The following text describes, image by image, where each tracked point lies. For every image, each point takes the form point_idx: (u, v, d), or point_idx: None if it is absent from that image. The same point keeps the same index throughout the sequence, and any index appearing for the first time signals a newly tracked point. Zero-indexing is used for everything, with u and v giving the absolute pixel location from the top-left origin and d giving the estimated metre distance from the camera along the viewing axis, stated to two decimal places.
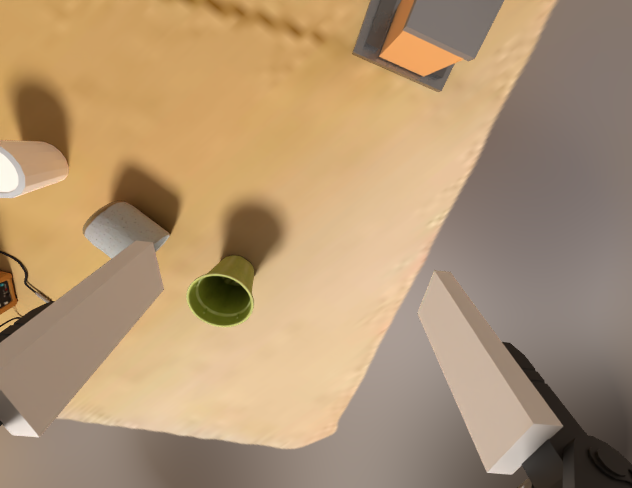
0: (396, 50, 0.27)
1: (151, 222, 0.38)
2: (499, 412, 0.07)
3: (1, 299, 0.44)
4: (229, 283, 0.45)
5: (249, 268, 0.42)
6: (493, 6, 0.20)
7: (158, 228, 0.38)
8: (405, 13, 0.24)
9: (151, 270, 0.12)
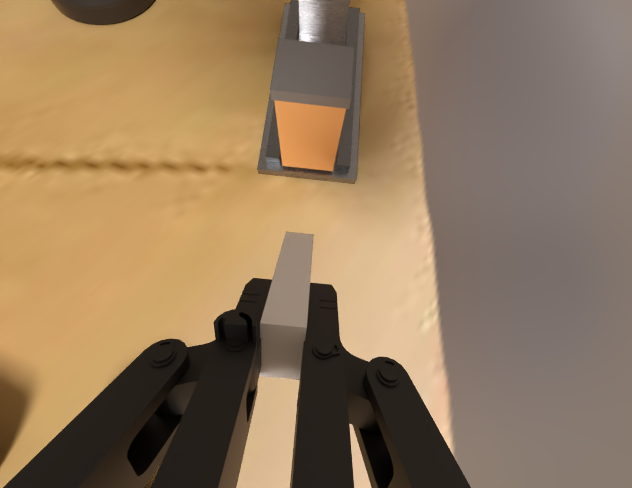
0: (288, 143, 0.27)
1: None
2: None
3: None
4: None
5: None
6: (346, 65, 0.21)
7: None
8: None
9: None
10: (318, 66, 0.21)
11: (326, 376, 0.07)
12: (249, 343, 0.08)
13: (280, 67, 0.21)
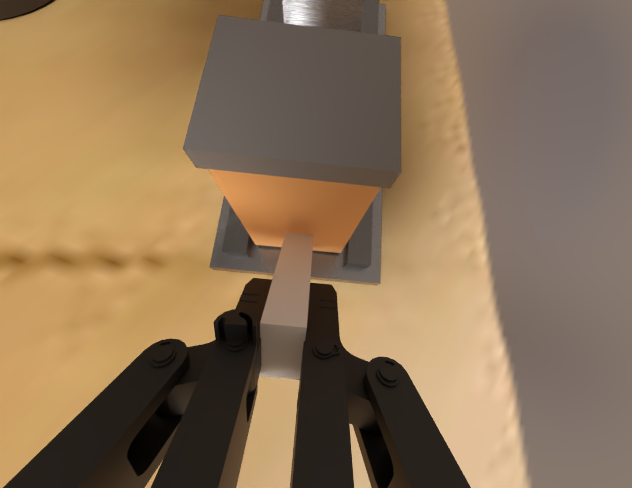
0: (259, 224, 0.14)
1: None
2: None
3: None
4: None
5: None
6: (384, 80, 0.09)
7: None
8: None
9: None
10: (314, 83, 0.08)
11: (326, 376, 0.07)
12: (249, 343, 0.08)
13: (217, 86, 0.08)
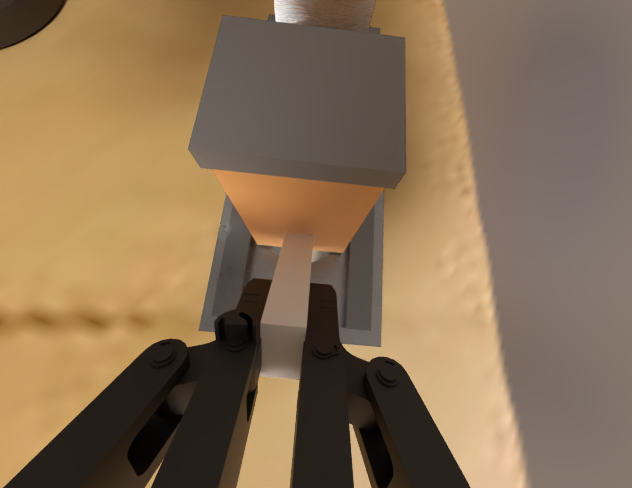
0: (262, 224, 0.14)
1: None
2: None
3: None
4: None
5: None
6: (388, 80, 0.09)
7: None
8: None
9: None
10: (319, 84, 0.08)
11: (326, 376, 0.07)
12: (249, 343, 0.08)
13: (222, 87, 0.08)
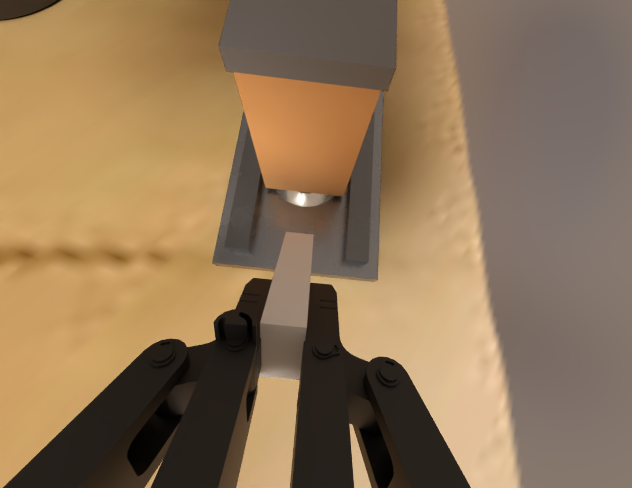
0: (271, 155, 0.16)
1: None
2: None
3: None
4: None
5: None
6: (383, 0, 0.10)
7: None
8: None
9: None
10: (325, 1, 0.10)
11: (326, 376, 0.07)
12: (249, 343, 0.08)
13: (245, 1, 0.10)
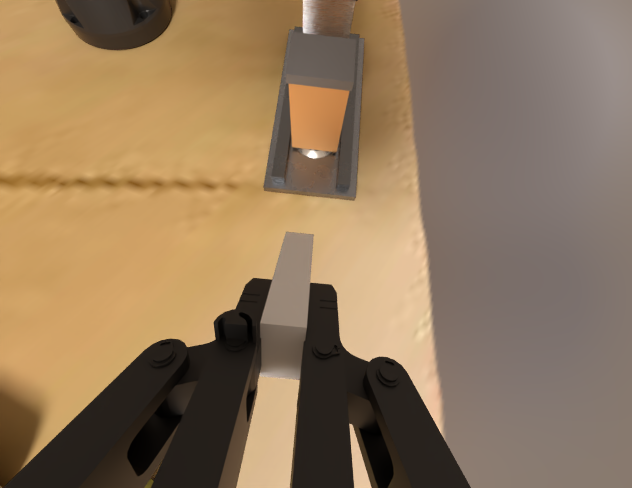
0: (298, 124, 0.31)
1: None
2: None
3: None
4: None
5: None
6: (349, 54, 0.25)
7: None
8: None
9: None
10: (326, 55, 0.25)
11: (326, 376, 0.07)
12: (249, 343, 0.08)
13: (294, 55, 0.25)
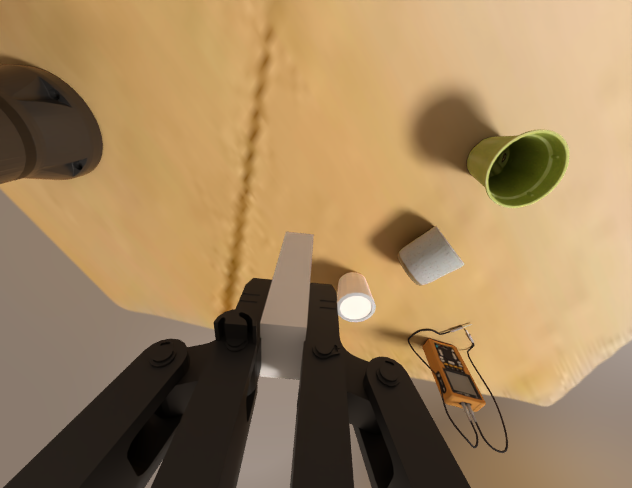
0: None
1: (421, 236, 0.43)
2: None
3: (448, 351, 0.56)
4: (501, 169, 0.39)
5: (491, 139, 0.36)
6: None
7: (429, 232, 0.42)
8: None
9: None
10: None
11: (326, 376, 0.07)
12: (249, 343, 0.08)
13: None
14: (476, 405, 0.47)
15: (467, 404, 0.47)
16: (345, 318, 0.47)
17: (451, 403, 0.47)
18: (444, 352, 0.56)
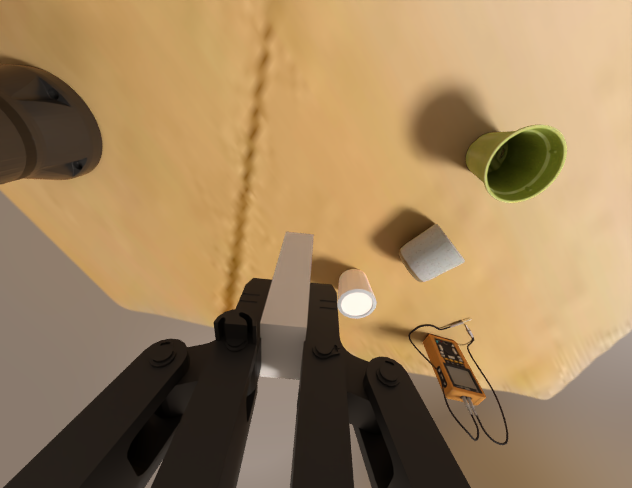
0: None
1: (422, 234, 0.43)
2: None
3: (448, 346, 0.57)
4: (499, 164, 0.40)
5: (489, 135, 0.36)
6: None
7: (429, 229, 0.43)
8: None
9: None
10: None
11: (326, 376, 0.07)
12: (249, 343, 0.08)
13: None
14: (477, 399, 0.48)
15: (468, 398, 0.48)
16: (346, 314, 0.47)
17: (451, 397, 0.48)
18: (444, 347, 0.56)
